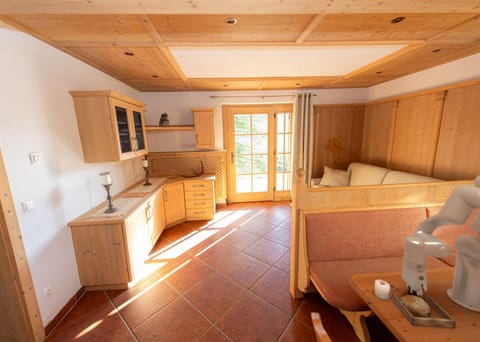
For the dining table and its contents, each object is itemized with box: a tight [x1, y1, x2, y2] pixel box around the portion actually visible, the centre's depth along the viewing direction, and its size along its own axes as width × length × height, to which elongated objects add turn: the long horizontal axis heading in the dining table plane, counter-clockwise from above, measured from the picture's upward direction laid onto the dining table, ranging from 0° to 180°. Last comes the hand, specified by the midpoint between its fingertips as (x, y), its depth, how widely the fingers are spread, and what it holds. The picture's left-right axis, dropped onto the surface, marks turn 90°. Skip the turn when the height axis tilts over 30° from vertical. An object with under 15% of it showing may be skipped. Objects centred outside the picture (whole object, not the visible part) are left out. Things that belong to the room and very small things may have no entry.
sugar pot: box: [374, 279, 391, 301], centre depth 96 cm, size 6×6×8 cm
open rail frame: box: [390, 292, 457, 329], centre depth 86 cm, size 16×14×3 cm
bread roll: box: [399, 294, 432, 318], centre depth 87 cm, size 10×10×8 cm
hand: (411, 298), depth 93 cm, fingers closed
